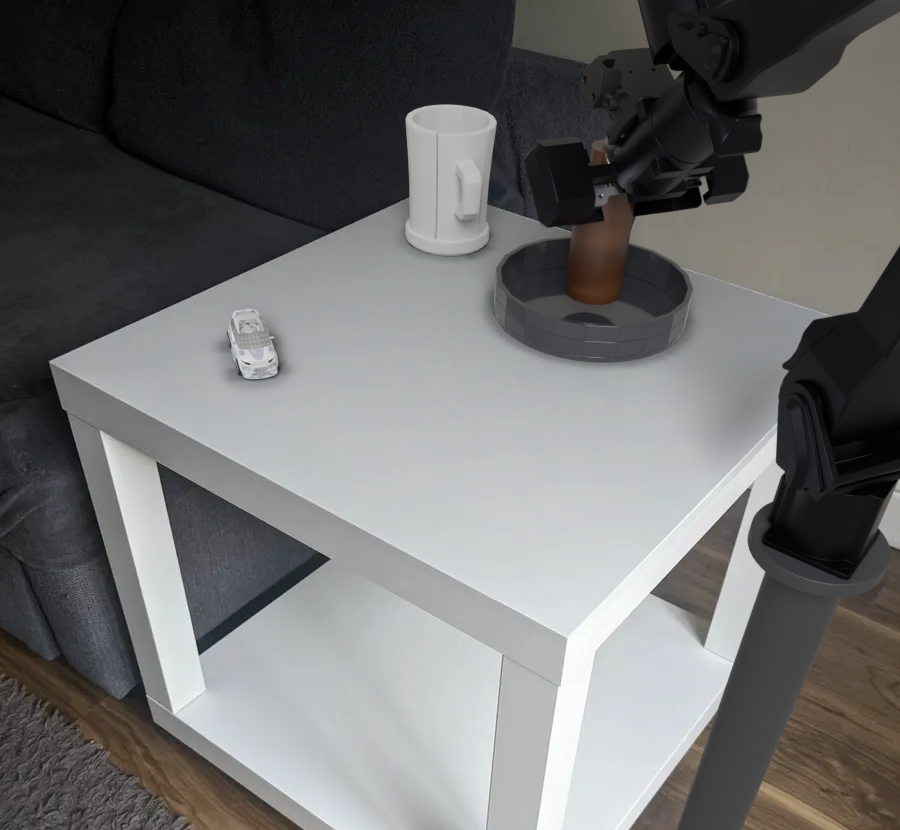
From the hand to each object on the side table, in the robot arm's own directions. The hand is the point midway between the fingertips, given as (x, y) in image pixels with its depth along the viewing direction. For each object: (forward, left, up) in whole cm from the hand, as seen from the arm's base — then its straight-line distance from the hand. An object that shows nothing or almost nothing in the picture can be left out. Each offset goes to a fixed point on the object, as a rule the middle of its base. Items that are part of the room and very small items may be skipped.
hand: (595, 216), depth 88 cm
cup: (+18, -3, -9) cm, 20 cm away
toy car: (+17, +27, -9) cm, 33 cm away
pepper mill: (-1, +1, -7) cm, 7 cm away
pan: (-1, +1, -9) cm, 9 cm away
